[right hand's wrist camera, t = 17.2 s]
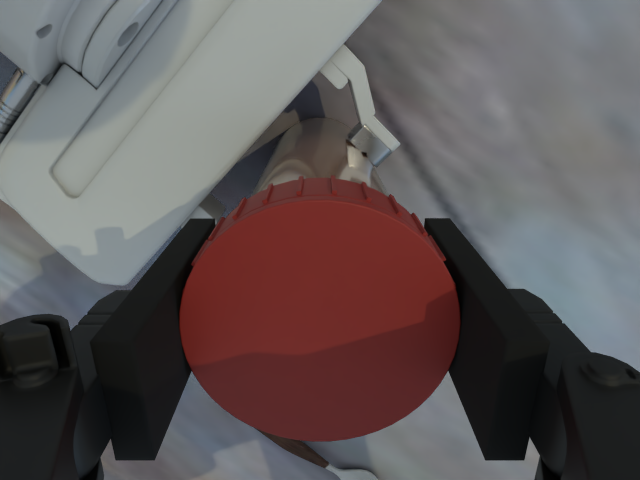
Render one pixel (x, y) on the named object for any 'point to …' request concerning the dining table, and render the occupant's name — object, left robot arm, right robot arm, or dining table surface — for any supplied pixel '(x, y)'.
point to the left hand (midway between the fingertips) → (334, 206)
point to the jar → (318, 156)
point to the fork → (318, 458)
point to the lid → (319, 311)
